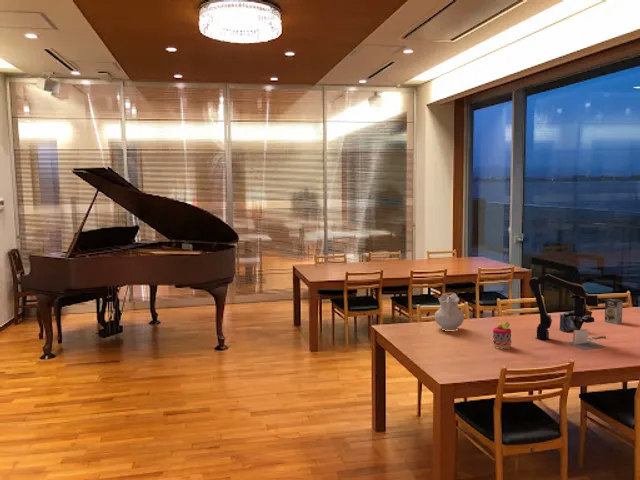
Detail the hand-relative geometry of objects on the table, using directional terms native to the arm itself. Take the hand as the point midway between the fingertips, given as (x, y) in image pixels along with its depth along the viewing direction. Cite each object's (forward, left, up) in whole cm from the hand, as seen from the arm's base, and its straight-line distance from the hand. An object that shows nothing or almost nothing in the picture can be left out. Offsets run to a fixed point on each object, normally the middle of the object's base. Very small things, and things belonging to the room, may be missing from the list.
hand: (578, 330), depth 322 cm
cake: (-46, +12, -8) cm, 48 cm away
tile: (0, -1, -7) cm, 7 cm away
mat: (0, -5, -8) cm, 9 cm away
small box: (+16, +25, -8) cm, 30 cm away
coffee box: (+58, +30, -8) cm, 66 cm away
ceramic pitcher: (-54, +58, -8) cm, 79 cm away
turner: (+15, +3, -8) cm, 17 cm away
